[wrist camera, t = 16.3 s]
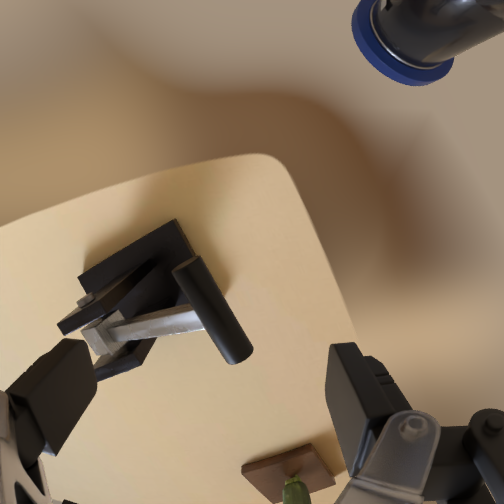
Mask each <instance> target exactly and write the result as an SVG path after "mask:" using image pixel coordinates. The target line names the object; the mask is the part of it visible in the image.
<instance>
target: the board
mask: <svg viewBox="0 0 504 504" xmlns="http://www.w3.org/2000/svg"><path fill="white" fill-rule="evenodd" d="M241 474H242V475H243V476H244V477H245V478H246V479H247V480H248V481H249V482H250V483H251V484H252V485H253V486H254V487H255V488H256V489H257V490H258V491H259V492H261V493H262V494H263V495H264V496H265V497H266V498H267V499H268V500H269V501H270V502H271V503H272V504H275V503H279V502H283V489H284V487H285V481H286V480H288V479H291V478H293V477H295V475H298V476H299V478H300V479H301V481H302V482H303V483H304V484H305V485H306V486H307V488H308V491H309V494H310V493H313V492H316V491H319V490H322V489H324V488H327V487H330V486H333V485H335V484H336V482H335V478H334V476H333V475H332V473H331V472H330V471H329V469H328V468H327V466H326V465H325V463H324V462H323V461H322V459H321V458H320V456H319V455H318V453H317V452H316V450H315V449H314V447H313V446H312V444H308V445H305V446H303V447H300V448H297V449H294V450H292V451H289V452H286V453H283V454H280V455H277V456H274V457H271V458H268V459H264V460H261V461H258V462H254V463H251V464H248V465H244V466H242V469H241Z"/></svg>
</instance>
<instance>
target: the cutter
mask: <svg viewBox="0 0 504 504" xmlns="http://www.w3.org/2000/svg"><path fill="white" fill-rule="evenodd" d="M195 256H196V255H195V253H194V251H193V249H192V247H191V246H190V244H189V242H188V240H187V238H186V236H185V235H184V233H183V231H182V229H181V227H180V225H179V224H178V222H177V220H176V219H174V220H172V221H170V222H168V223H166V224H165V225H163V226H161V227H159V228H158V229H156V230H154V231H152V232H151V233H149V234H147V235H145V236H144V237H142V238H140V239H139V240H137V241H135V242H133V243H132V244H130V245H128V246H127V247H125V248H123V249H122V250H120V251H118V252H117V253H115V254H113V255H112V256H110V257H109V258H107V259H105V260H104V261H102V262H100V263H99V264H97V265H96V266H94V267H92V268H91V269H89V270H88V271H86V272H84V273H83V274H81V275H80V276H78V277H77V278H78V280H79V281H80V283H81V285H82V287H83V288H84V290H85V292H86V294H87V295H86V296H84V297H83V298H81V299H80V300H78V301H77V304H78V307H77V308H76V309H75V310H73V311H72V312H71V313H70V314H68V315H67V316H66V317H65V318H63V319H62V320H61V321H60V322H59V323H57V326H58V327H59V329H60V330H61V332H62V334H63V335H64V336H66V335H68V334H70V333H72V332H73V331H75V330H77V329H79V328H81V327H83V326H85V325H87V324H89V323H91V322H92V321H94V320H96V319H98V318H100V317H102V316H104V315H106V314H107V313H108V312H111V311H114V310H117V309H119V311H120V312H121V314H122V316H123V317H124V319H128V318H132V317H136V316H140V315H144V314H148V313H152V312H156V311H160V310H164V309H168V308H172V307H175V306H179V305H183V304H187V303H189V302H188V300H187V298H186V297H185V295H184V293H183V291H182V290H181V288H180V286H179V285H178V283H177V281H176V280H175V278H174V276H173V274H172V270H173V269H174V268H176V267H177V266H178V265H180V264H182V263H183V262H185V261H187V260H189V259H191V258H193V257H195ZM156 339H157V337H152V338H145V339H137V340H129V341H128V342H127V343H126V344H125V345H123V346H122V347H121V348H120V349H119V350H118V351H117V352H115V353H114V354H113V355H101V357H100V358H99V359H98V360H97V362H96V363H95V364H94V365H93V367H94V371H95V374H96V378H97V382H99V381H102V380H105V379H107V378H110V377H113V376H115V375H118V374H120V373H123V372H127V371H130V370H131V369H133V368H136V367H138V366H141V365H142V364H143V362H144V360H145V358H146V356H147V355H148V353H149V351H150V349H151V347H152V346H153V344H154V342H155V340H156Z"/></svg>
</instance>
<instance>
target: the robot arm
mask: <svg viewBox="0 0 504 504" xmlns="http://www.w3.org/2000/svg"><path fill="white" fill-rule="evenodd" d="M369 24H370V28H371V31H372V33H373V35H374V37H375V39H376V40H377V42H378V43H379V45H380V46H381V47H382V48H383V49H384V50H385V51H386V52H387V53H388V54H389V55H390V56H391V57H392V58H394V59H395V60H396V61H398V62H399V63H401V64H403V65H405V66H407V67H410V68H413V69H416V70H431V69H434V68H436V67H438V66H439V65H441V64H442V63H443V62H445V61H447V60H449V59H451V58H453V57H455V56H457V55H459V54H460V53H462V52H464V51H466V50H468V49H470V48H472V47H474V46H476V45H478V44H480V43H482V42H484V41H486V40H488V39H490V38H492V37H494V36H496V35H498V34H500V33H502V32H504V0H376V1H375V3H374V4H373V5H372V7H371V9H370V12H369ZM96 391H97V378H96V374H95V371H94V367H93V364H92V360H91V356H90V352H89V349H88V345H87V343H86V342H85V341H84V340H78V339H69V338H64V339H62V340H61V341H60V342H59V343H58V344H57V345H56V346H55V347H54V348H53V349H52V350H51V351H50V352H48V353H46V354H44V355H42V356H41V357H39V358H38V359H37V360H36V361H35V362H34V363H33V366H32V365H31V366H30V367H29V368H28V369H27V371H26V372H24V373H23V374H22V375H21V376H20V377H19V378H18V379H17V380H16V381H15V382H14V383H13V384H12V385H11V386H10V387H9V388H8V389H7V390H6V391H5V392H4V391H1V390H0V504H53V502H52V499H51V495H50V492H49V488H48V484H47V480H46V476H45V471H44V467H43V463H42V460H41V459H40V457H39V455H40V454H41V452H44V453H46V454H49V455H53V456H57V454H58V452H59V451H60V449H61V448H62V446H63V444H64V443H65V441H66V440H67V438H68V436H69V435H70V433H71V432H72V430H73V428H74V427H75V425H76V424H77V422H78V421H79V419H80V417H81V416H82V414H83V413H84V411H85V410H86V408H87V407H88V405H89V404H90V402H91V400H92V399H93V397H94V396H95V394H96ZM325 397H326V402H327V406H328V409H329V412H330V415H331V418H332V421H333V425H334V428H335V431H336V434H337V437H338V441H339V444H340V447H341V450H342V453H343V457H344V460H345V463H346V467H347V470H348V473H349V476H350V477H352V478H351V480H350V481H349V482H348V484H347V485H346V487H345V488H344V490H343V491H342V493H341V494H340V496H339V497H338V499H337V500H336V502H335V503H334V504H423V501H436V502H437V504H504V412H503V411H501V410H497V409H483V410H480V411H478V412H476V413H475V414H474V415H473V416H472V418H471V420H470V422H469V424H468V426H452V427H442V426H440V425H439V423H438V421H437V420H436V419H435V418H434V417H432V416H431V415H429V414H427V413H424V412H421V411H416V410H413V409H412V408H411V406H410V404H409V403H408V401H407V400H406V398H405V397H404V395H403V394H402V392H401V391H400V389H399V387H398V386H397V385H396V383H394V380H393V378H392V377H391V375H389V372H388V371H387V369H386V368H385V366H384V365H383V364H382V363H381V362H379V361H378V360H377V359H375V358H374V357H372V356H363V355H362V353H361V351H360V350H359V348H358V347H357V345H356V343H355V342H349V343H337V344H331V345H330V348H329V355H328V365H327V374H326V382H325ZM485 482H486V484H487V486H488V488H489V490H490V491H491V493H492V495H493V497H494V499H495V501H496V503H495V501H494V499H493V498H492V496H491V494H490V492H489V490H488V488H487V486H486V485H485ZM62 504H77V503H74V502H71V501H68V500H65V499H64V501H63V503H62Z"/></svg>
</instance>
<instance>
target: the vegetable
mask: <svg viewBox="0 0 504 504" xmlns="http://www.w3.org/2000/svg"><path fill="white" fill-rule="evenodd" d="M283 504H311V499H310V495H309V491H308V488H307V486H306V485H305V484H304V483H303V482H302V481H301V479H300V478H299V476H298V475H295V477H293V478H291V479H288V480H286V481H285V487H284V489H283Z"/></svg>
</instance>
